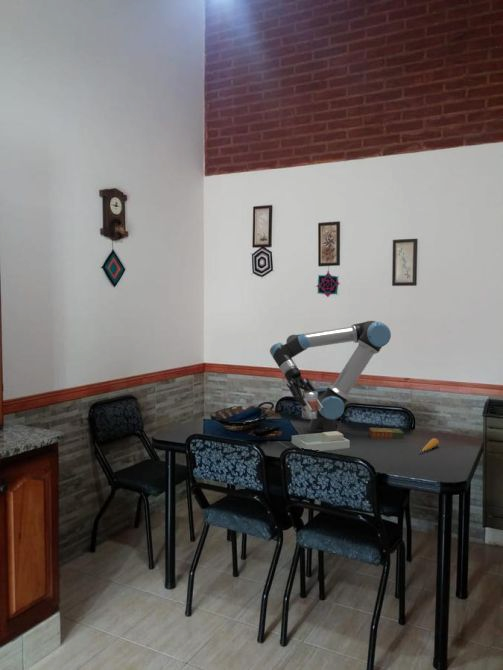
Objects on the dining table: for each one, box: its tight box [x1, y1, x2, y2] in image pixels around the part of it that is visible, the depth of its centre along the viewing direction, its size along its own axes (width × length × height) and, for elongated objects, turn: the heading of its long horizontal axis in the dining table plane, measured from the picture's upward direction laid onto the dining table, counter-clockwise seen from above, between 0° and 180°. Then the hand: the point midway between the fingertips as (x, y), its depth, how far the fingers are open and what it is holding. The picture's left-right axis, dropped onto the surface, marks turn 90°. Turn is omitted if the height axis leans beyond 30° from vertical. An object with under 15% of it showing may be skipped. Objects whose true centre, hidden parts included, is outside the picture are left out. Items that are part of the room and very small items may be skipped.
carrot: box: [421, 437, 440, 451], centre depth 257 cm, size 20×4×4 cm, turn 139°
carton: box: [368, 427, 405, 440], centre depth 279 cm, size 8×16×4 cm, turn 88°
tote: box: [291, 433, 351, 452], centre depth 258 cm, size 22×16×4 cm
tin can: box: [301, 390, 318, 420], centre depth 258 cm, size 7×7×12 cm
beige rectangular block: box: [322, 430, 344, 443], centre depth 258 cm, size 8×6×6 cm
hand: (315, 410), depth 255 cm, fingers closed on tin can, 7 cm apart
